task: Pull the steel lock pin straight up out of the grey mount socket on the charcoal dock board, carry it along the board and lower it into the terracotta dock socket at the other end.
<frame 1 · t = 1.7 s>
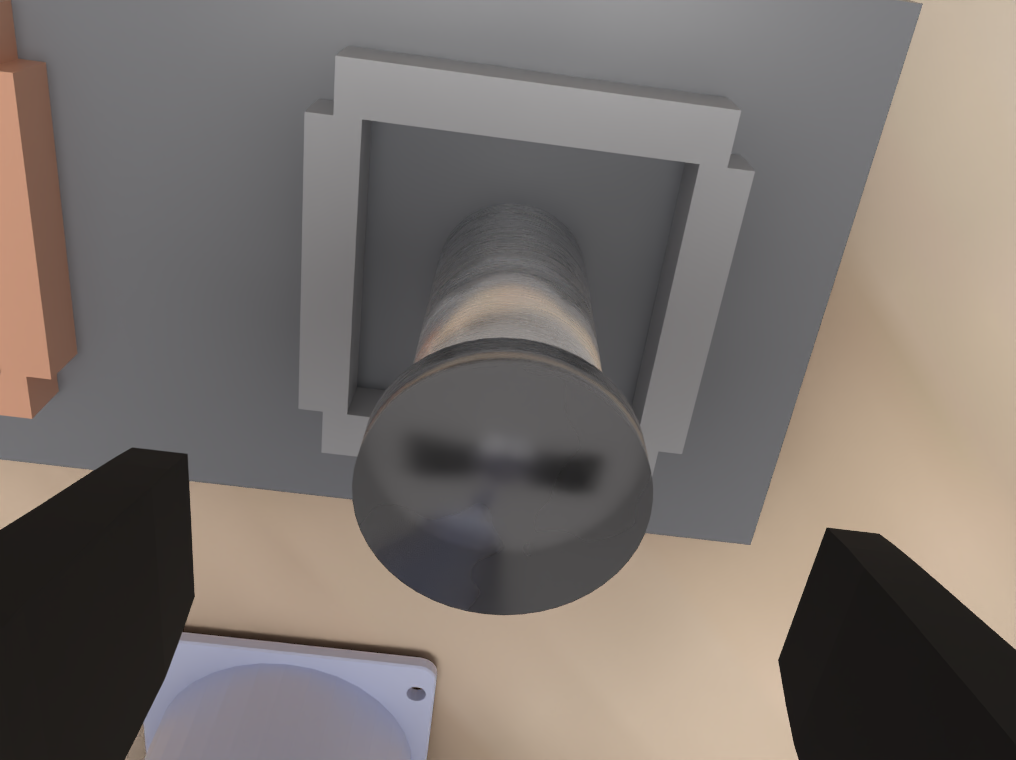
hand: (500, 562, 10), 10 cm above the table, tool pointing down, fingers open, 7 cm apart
dock board: (205, 219, 19), on the table
lock pin: (511, 275, 18), point 1 cm above the table, touching dock board
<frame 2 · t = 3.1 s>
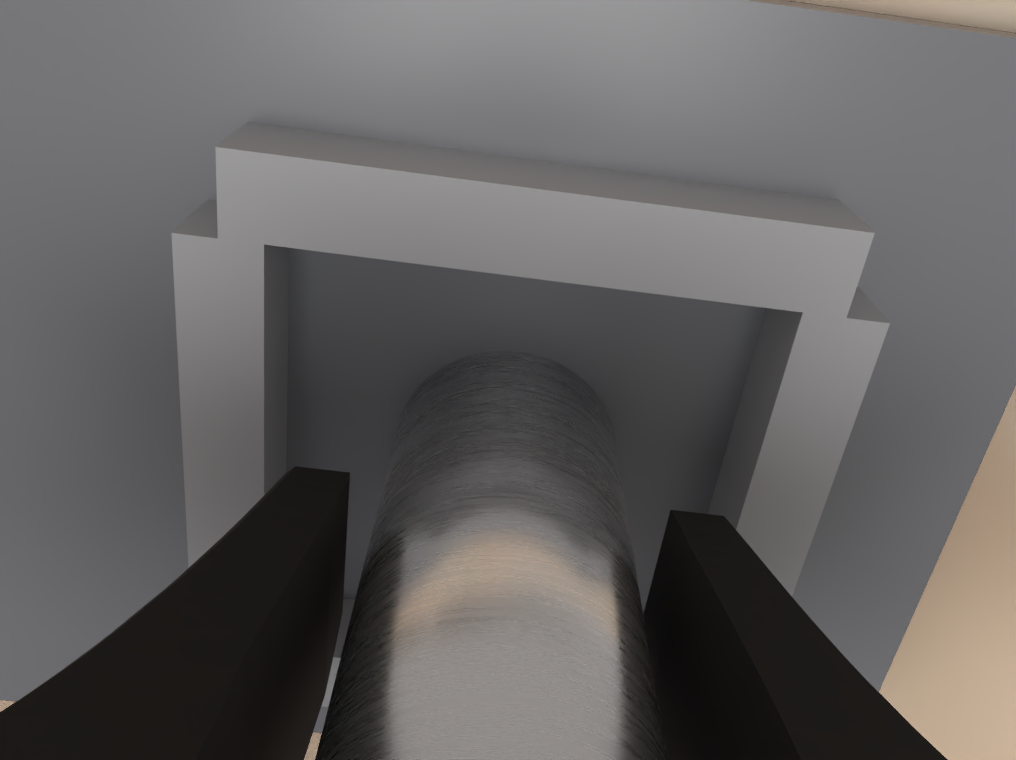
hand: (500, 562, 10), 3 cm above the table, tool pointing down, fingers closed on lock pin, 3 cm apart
dock board: (60, 359, 13), on the table
lock pin: (505, 449, 12), point 1 cm above the table, touching dock board, gripper
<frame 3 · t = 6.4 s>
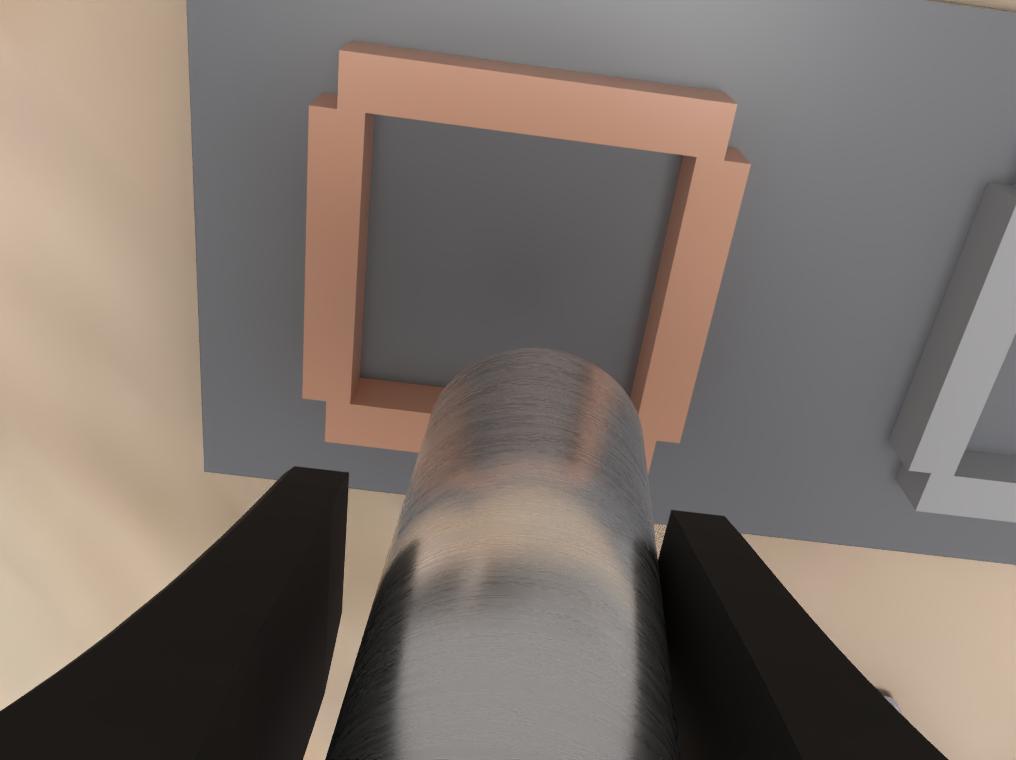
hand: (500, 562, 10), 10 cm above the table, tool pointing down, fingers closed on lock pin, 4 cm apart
dock board: (805, 288, 20), on the table
lock pin: (534, 445, 12), point 8 cm above the table, touching gripper
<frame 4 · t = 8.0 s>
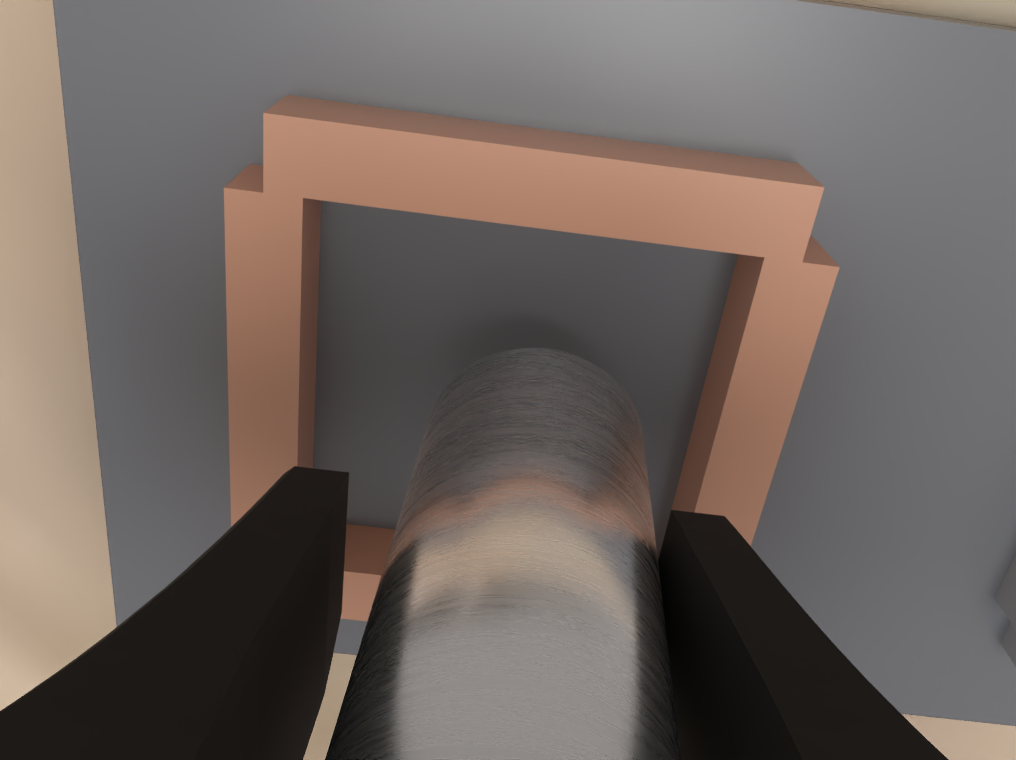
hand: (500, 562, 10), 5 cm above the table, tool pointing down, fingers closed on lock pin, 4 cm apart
dock board: (890, 405, 15), on the table
lock pin: (534, 445, 12), point 3 cm above the table, touching gripper
when the fingers open (4 cm above the table, at t = 9.6 s): lock pin stays where it is, resting on dock board.
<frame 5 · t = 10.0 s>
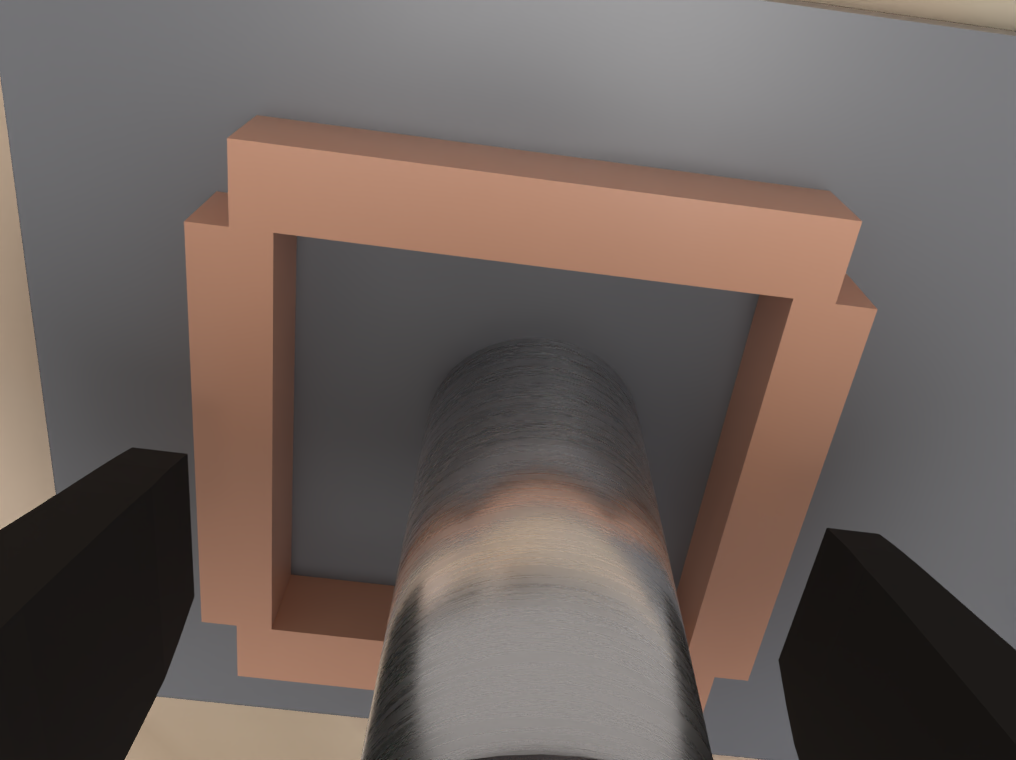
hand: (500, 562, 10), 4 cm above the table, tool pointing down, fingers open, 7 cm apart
dock board: (923, 449, 14), on the table
lock pin: (532, 434, 13), point 1 cm above the table, touching dock board
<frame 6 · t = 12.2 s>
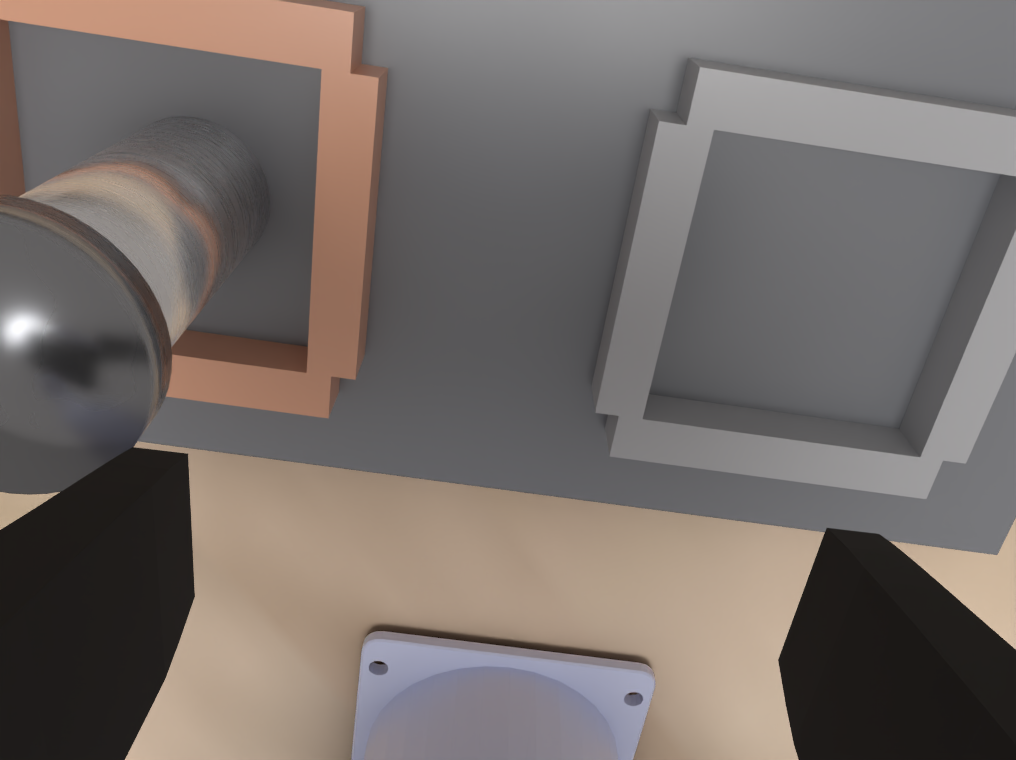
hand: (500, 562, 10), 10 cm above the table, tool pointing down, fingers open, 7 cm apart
dock board: (499, 225, 19), on the table
lock pin: (194, 193, 18), point 1 cm above the table, touching dock board
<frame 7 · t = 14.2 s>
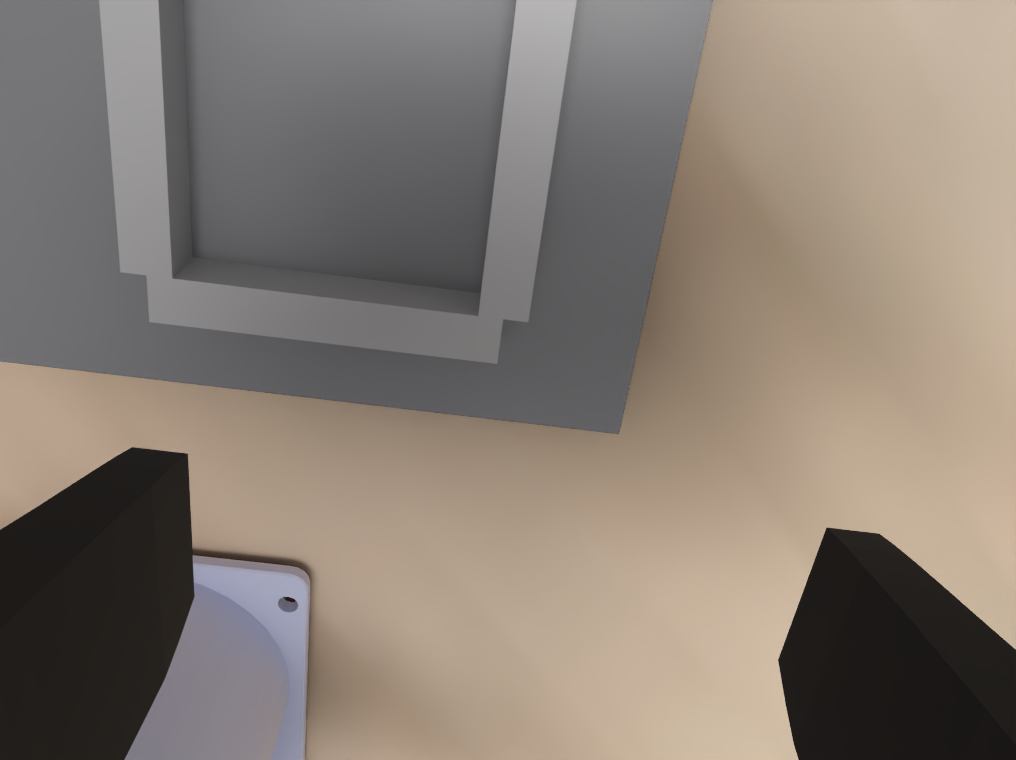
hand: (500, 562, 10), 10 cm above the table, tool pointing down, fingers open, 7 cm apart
dock board: (26, 76, 18), on the table
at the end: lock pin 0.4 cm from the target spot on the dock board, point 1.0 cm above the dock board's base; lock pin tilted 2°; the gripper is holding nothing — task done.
